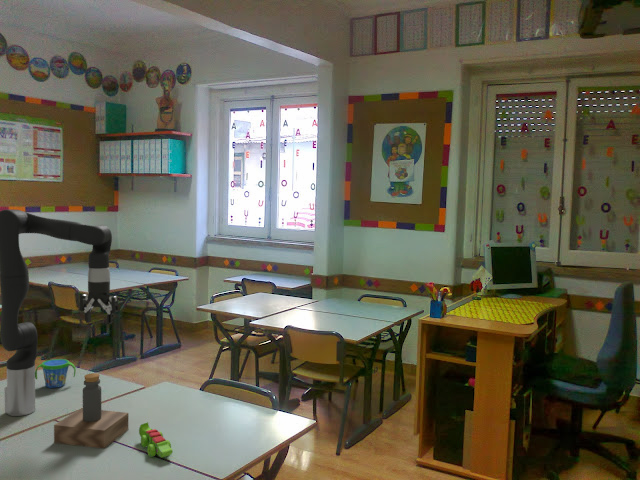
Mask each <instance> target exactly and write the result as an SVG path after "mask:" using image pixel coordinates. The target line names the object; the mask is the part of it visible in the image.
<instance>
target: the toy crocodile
mask: <svg viewBox="0 0 640 480" xmlns="http://www.w3.org/2000/svg"><path fill="white" fill-rule="evenodd" d="M138 434H139V437H140V443H141V447H142V448H147V455H148V457H149V458H152V457H156V455H157V456H158V457H159V458H160V459H161V458H166V457H168V456H172V454H173V449H172V445H171V442H170V440H169V439H165V437H164V435H163V432H162V431H158V429H156V428H155V429H152V428H151V427H150V426H149V422H147V421H146V422H144V423H142V424H140V425H139V429H138Z"/></svg>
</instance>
